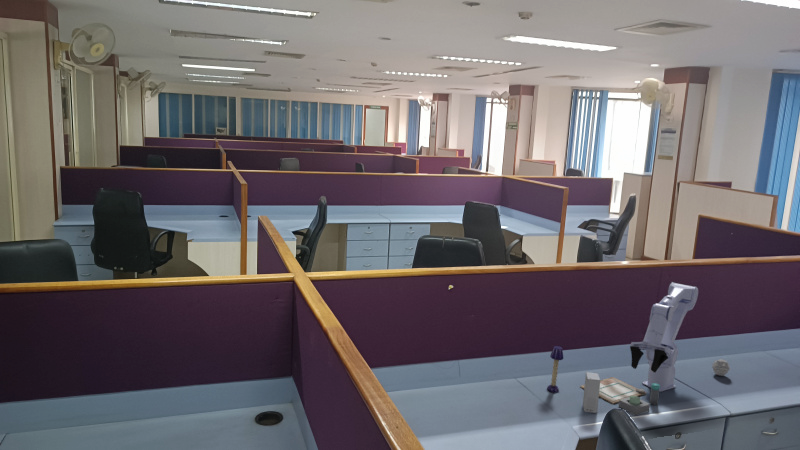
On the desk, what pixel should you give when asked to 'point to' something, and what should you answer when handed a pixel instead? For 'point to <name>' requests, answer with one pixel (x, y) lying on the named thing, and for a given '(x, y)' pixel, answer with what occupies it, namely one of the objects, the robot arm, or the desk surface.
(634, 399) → the button
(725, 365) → the grey lumpy rounded piece
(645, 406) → the button housing
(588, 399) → the skincare box
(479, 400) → the desk surface
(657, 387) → the marker
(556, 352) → the toy lamp
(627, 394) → the framed board
